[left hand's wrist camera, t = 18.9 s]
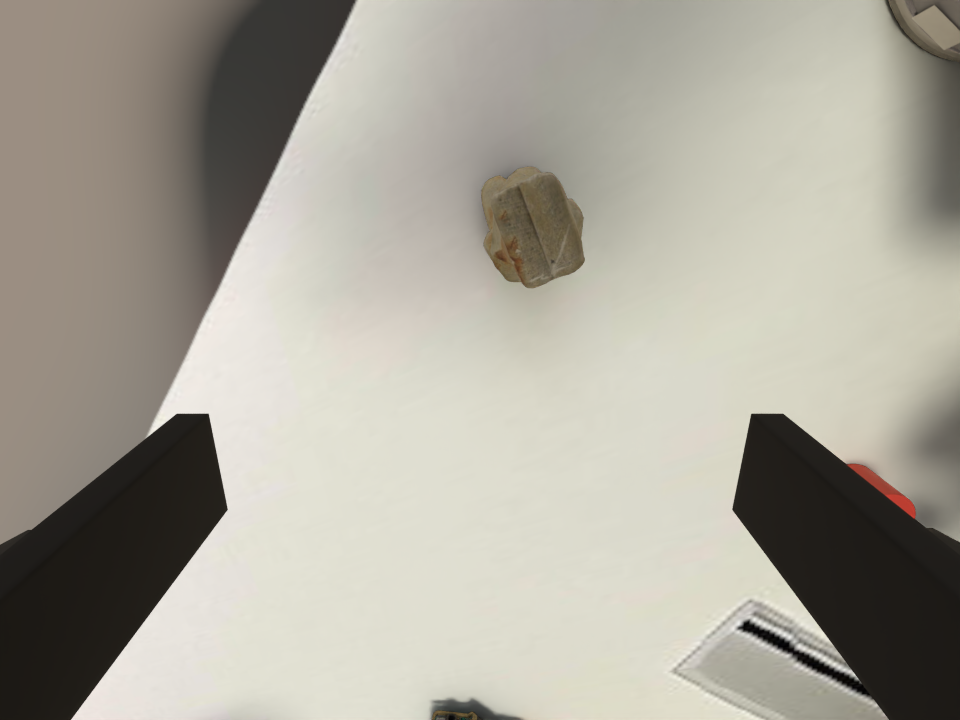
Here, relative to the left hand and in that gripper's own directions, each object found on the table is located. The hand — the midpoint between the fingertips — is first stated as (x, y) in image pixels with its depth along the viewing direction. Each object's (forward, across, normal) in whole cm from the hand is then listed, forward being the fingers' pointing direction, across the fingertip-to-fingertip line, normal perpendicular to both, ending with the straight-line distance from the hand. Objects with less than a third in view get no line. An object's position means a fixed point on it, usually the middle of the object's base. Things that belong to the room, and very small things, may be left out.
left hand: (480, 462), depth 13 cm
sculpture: (+28, +3, +3) cm, 29 cm away
